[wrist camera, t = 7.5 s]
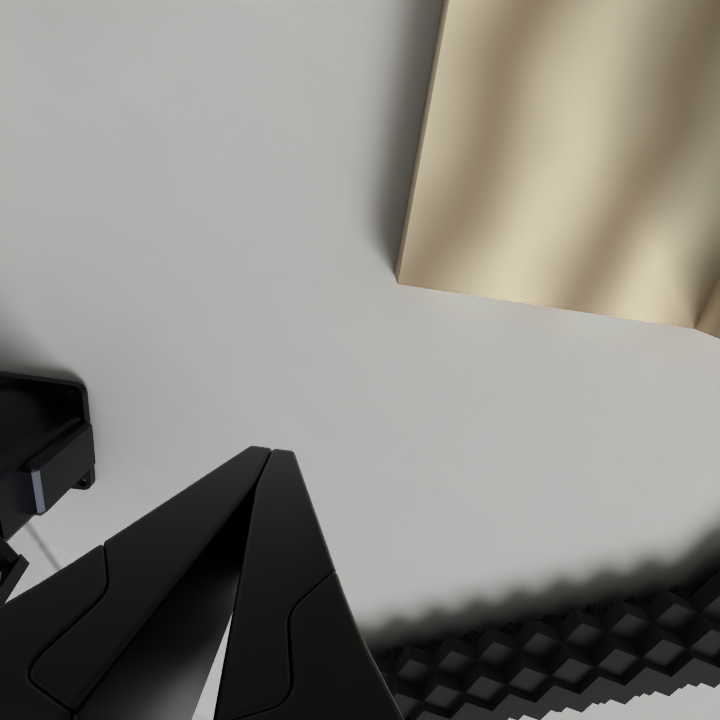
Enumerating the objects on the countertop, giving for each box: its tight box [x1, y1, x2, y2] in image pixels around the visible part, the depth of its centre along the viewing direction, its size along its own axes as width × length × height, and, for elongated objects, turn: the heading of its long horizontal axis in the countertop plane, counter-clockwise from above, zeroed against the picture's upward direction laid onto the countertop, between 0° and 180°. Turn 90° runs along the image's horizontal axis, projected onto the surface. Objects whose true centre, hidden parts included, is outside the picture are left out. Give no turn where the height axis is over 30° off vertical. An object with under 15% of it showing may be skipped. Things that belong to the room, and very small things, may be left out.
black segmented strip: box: [370, 571, 720, 720], centre depth 27 cm, size 11×40×4 cm, turn 108°
